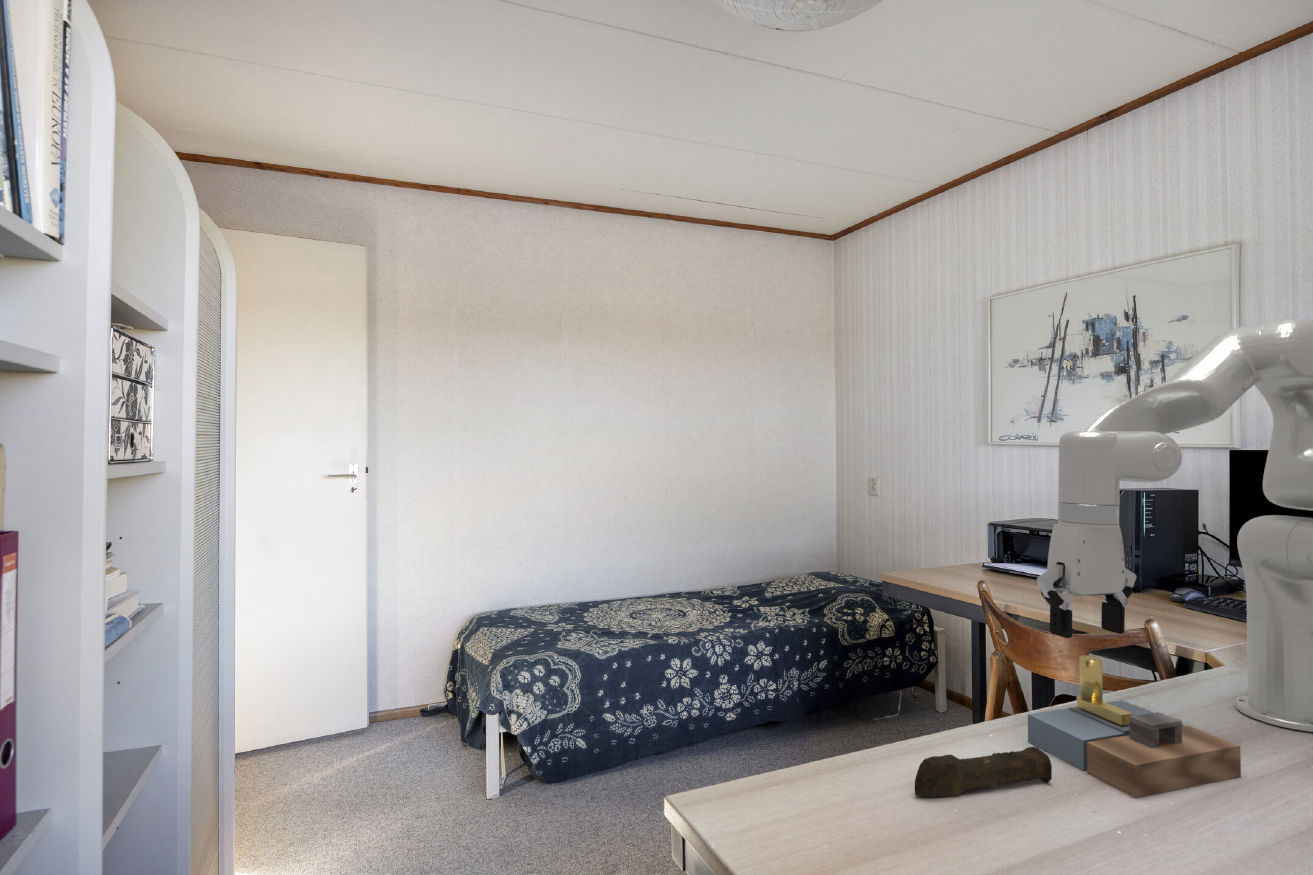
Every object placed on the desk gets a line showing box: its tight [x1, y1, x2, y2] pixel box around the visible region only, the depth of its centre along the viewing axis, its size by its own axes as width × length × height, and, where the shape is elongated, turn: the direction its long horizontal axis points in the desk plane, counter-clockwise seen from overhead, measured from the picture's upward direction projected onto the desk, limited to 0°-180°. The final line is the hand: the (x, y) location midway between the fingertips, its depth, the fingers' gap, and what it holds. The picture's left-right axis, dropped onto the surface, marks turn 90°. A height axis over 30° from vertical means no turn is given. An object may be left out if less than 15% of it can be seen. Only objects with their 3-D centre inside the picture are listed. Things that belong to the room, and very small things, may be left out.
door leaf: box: [1027, 699, 1184, 771], centre depth 96 cm, size 18×9×4 cm, turn 106°
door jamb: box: [1086, 711, 1242, 799], centre depth 88 cm, size 18×7×7 cm, turn 106°
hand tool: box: [914, 746, 1053, 799], centre depth 85 cm, size 19×4×5 cm, turn 103°
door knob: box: [1076, 654, 1133, 725], centre depth 96 cm, size 3×7×7 cm, turn 16°
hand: (1087, 633), depth 98 cm, fingers open, 9 cm apart
